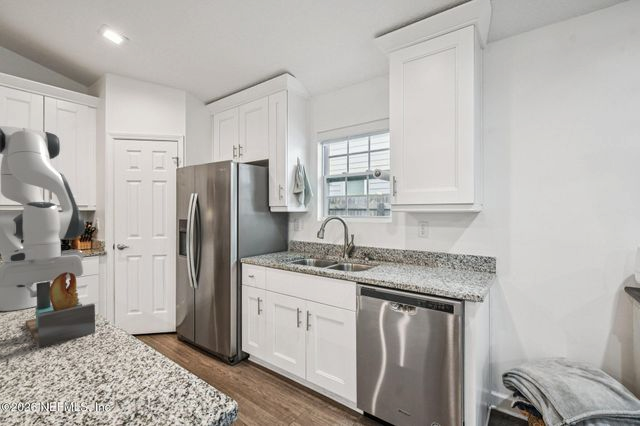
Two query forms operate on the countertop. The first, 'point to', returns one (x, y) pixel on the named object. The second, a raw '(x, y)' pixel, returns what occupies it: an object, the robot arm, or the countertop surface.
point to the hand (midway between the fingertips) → (43, 295)
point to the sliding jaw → (44, 300)
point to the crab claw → (63, 292)
